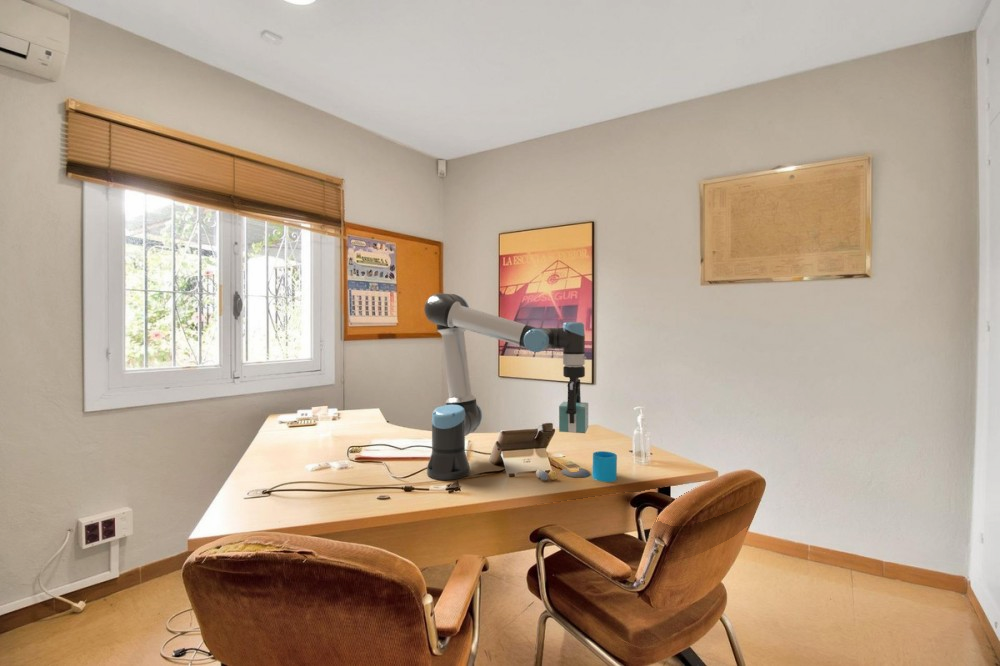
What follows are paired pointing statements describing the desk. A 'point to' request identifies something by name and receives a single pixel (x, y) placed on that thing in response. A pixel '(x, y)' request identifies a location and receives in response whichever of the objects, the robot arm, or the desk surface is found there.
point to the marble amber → (552, 475)
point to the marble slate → (544, 476)
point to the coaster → (576, 473)
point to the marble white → (539, 472)
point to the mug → (604, 466)
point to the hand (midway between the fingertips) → (574, 428)
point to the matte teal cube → (580, 417)
